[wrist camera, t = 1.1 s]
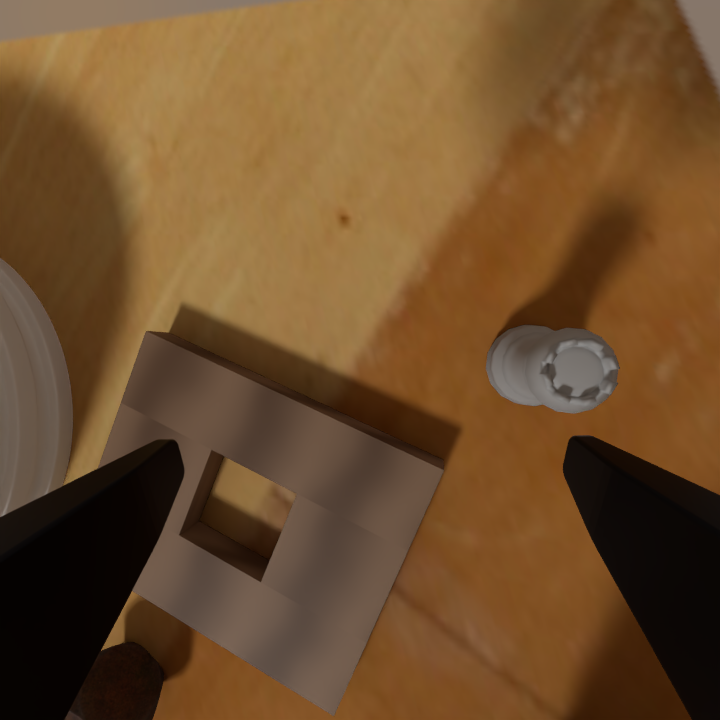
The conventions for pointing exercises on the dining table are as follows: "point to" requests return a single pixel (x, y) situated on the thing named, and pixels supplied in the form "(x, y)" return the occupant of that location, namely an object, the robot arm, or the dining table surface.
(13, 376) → the plate stack
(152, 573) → the socket board
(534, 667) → the dining table surface
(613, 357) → the rook chess piece
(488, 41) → the dining table surface
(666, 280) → the dining table surface
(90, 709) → the bolt
